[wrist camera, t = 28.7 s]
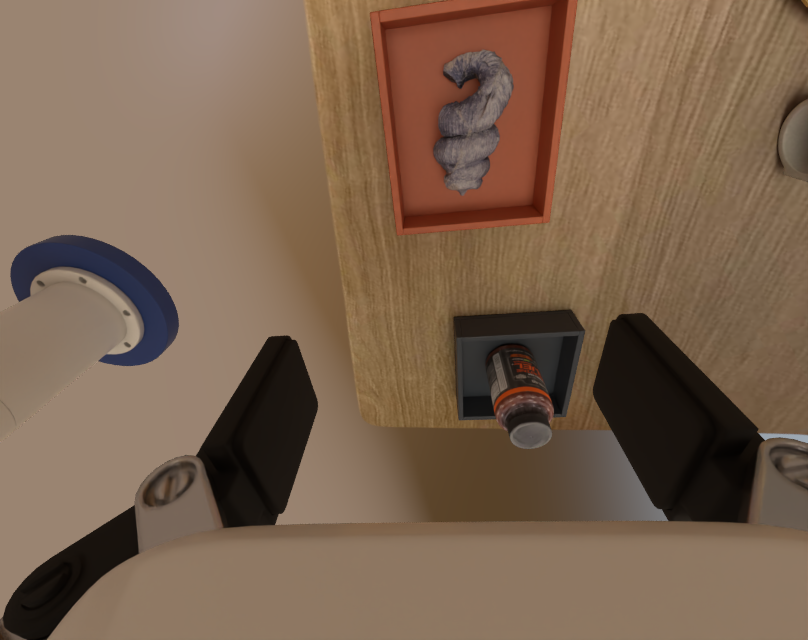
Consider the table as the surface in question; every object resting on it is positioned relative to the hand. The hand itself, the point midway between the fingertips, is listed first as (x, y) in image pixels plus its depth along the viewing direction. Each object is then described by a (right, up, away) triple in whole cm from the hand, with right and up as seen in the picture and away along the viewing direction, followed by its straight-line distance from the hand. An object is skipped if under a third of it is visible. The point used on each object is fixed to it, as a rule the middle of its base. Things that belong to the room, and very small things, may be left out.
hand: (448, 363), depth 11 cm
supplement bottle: (+12, -4, +32) cm, 35 cm away
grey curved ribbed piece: (+4, +18, +19) cm, 26 cm away
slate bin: (+12, -3, +33) cm, 35 cm away
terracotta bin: (+4, +18, +19) cm, 26 cm away
